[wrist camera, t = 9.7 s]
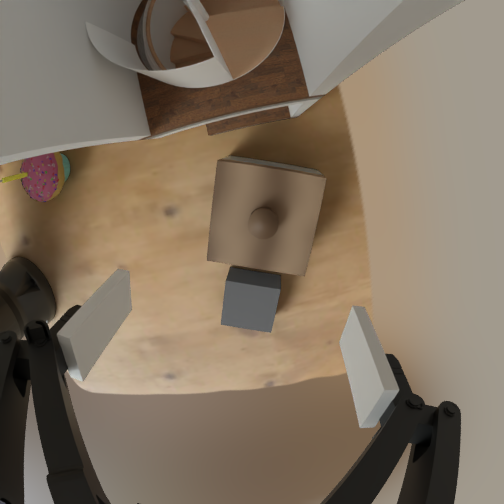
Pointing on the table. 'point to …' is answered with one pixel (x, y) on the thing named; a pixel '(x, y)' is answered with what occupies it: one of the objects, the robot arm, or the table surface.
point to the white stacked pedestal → (179, 64)
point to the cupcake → (43, 175)
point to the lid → (264, 216)
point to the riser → (250, 299)
